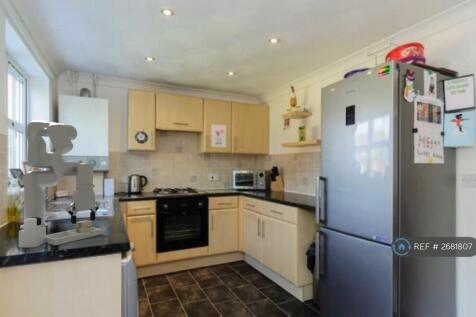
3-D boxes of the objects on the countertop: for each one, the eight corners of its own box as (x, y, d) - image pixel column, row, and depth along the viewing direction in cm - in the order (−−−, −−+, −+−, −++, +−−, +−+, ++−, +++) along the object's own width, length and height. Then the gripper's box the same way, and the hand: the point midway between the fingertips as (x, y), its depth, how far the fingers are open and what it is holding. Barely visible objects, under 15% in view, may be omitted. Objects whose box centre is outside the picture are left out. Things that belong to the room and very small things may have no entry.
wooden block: (76, 234, 138) (76, 222, 138) (85, 232, 142) (85, 220, 142) (82, 235, 136) (82, 223, 136) (91, 233, 140) (91, 221, 140)
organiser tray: (41, 241, 127) (41, 236, 127) (87, 231, 147) (87, 226, 147) (55, 245, 122) (55, 239, 122) (102, 234, 141) (102, 229, 141)
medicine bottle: (29, 243, 125) (29, 216, 125) (46, 242, 125) (46, 216, 126) (18, 247, 118) (18, 219, 118) (35, 247, 118) (36, 219, 118)
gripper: (95, 186, 149) (94, 218, 149) (62, 188, 134) (61, 224, 133) (104, 186, 145) (103, 219, 145) (71, 189, 130) (70, 226, 130)
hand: (83, 221), depth 139 cm, fingers open, 9 cm apart
